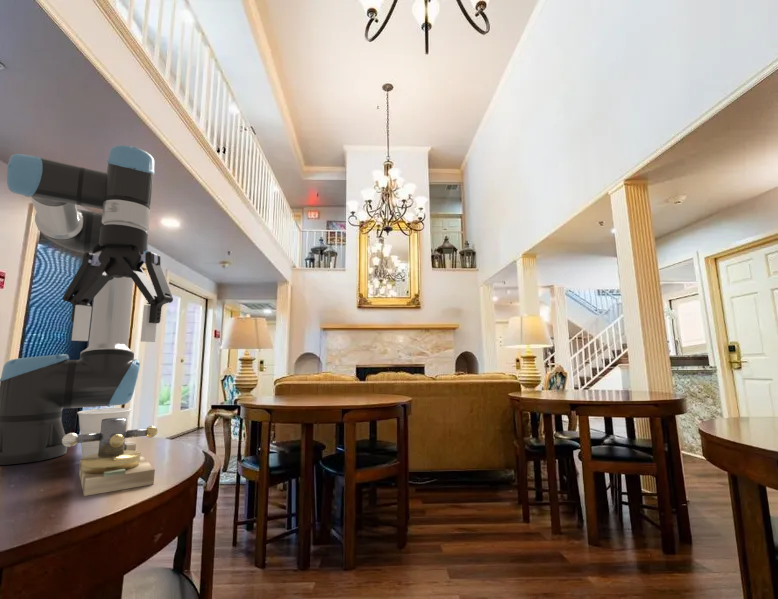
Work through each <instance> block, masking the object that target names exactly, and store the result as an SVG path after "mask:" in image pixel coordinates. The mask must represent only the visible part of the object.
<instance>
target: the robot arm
mask: <svg viewBox="0 0 778 599" xmlns="http://www.w3.org/2000/svg"><path fill="white" fill-rule="evenodd" d="M108 153H109V154H108V159H107V161H106V162H107V163H106V164H107V166H106V167H107V168H106V172H104V171H99V170H97V169H96V170H95V169H92V168H86V167H81V166H77V165H72V164H69V163H64V162H61V161H60V162H59V161H56V160H51V159H47V158H42V157H40V156H37V155H35V156H34V155H29V154H23V153H14V154H12V155H11V156H10V157H9V159H8V162H7V168H6V185H7V187H8V190H9V191H10V192H11V193H13V194H16V195H20V196H21V195H22V196H24V197H26V198H27V197H28V198H30V200H31V201H32V205H33V207H34V209H35V215H34V222H35V225H36V227H37V229H38V231H39V232H40V233H41V235H43V236H44V237H45V238H46V239H48V240H49V241H52V242H53V243H54V244H57V245H59V246H61V247H63V248H66V249H67V250H71V251H74V252H80V253H84V254H83V257H82V262H81V265H80V267H79V268H78V269H77V272H76V274H75V276H74V277H73V279H72V280H71V282H70V284H69V285H68V287H67V289H66V291H65V293H64V294H63V296H62V301H63V302H68V303H69V304H72V310H71V319H70V320H71V323H73V324H72V331H71V332H72V334H71V341H74V342H75V341H77V342H88V346H87V348H85V349H84V350H82V351H80V354H79V359H70V356H69V354H65V353H63V354H52V355H51V354H50V355H41V356H29V357H19V358H14V359H10V360H8V361H6V362H5V363H4V365H3V368H2V370H1V371H2V372H1V376H0V466H5V465H17V464H18V465H19V464H26V463H27V464H28V463H33V462H34V463H35V462H41V461H45V460H50V459H54V458H58V457H60V456H61V457H62V456H63V455H66V454H67V451H68V447H66V446H64V445H63V444H62V438H63V437H64V436H65V435H66V433H65V430H64V426H63V422H62V415H63V409H77V408H92V407H94V408H96V407H106V408H111V407H113V406H121V405H126V404H128V403H129V402H130V401H131V400H132V399H133V396H134V393H135V392H134V391H135V388H136V385H137V381H138V377H139V372H140V364H141V361H140V359H137V358H135V352H134V351H133V350H131V348H129V339H130V338H129V337H130V329H131V328H130V327H131V316H132V315H131V314H132V313H131V312H132V301H133V291H134V290H133V288H134V284H135V285H136V287H137V288H138V290H139V291H140V292H141V294H142V295H143V297H144V298H145V300H146V301H147V302H146V304H144V305H143V311H142V322H141V333H140V342H143V343H145V342H147V343H149V342H150V343H151V342H152V343H155V342H156V336H157V335H156V333H157V324H160V322H161V320H162V319H161V317H162V308H163V306H164V305H165V304H169V303H173V301H174V297H173V295H172V293H171V290H170V287H169V284H168V282H167V279H166V276H165V273H164V271H163V269H162V266H161V255H160V254H157V253H155V252H152V251H149V250H148V247H149V246H148V245H149V244H148V243H149V240H148V239H149V238H148V237H149V234H148V231H149V230H150V229H149V228H150V219H151V218H150V215H151V203H152V193H153V185H154V175H155V172H156V171H155V159H154V157H153V156H152V155H151V154H150V153H149V152H147V151H146V150H143V149H141V148H139V147H135V146H131V145H125V144H124V145H123V144H122V145H121V144H120V145H119V144H118V145H115V146H113V147H111V148H110V149H109V152H108ZM77 206H82V207H89V208H94V209H99V210H102V213H100V212H97V211H89V210H86V209H85V210H84V209H78V208H77ZM144 264H145V267H146V270H147V272H148V276H149V278H150V280H149V278H148V277H147V273H146V272H145V271H144V269H143V267H142V266H143V265H144ZM92 300H93V304H92V306H91V304H90V303H91V302H92Z"/></svg>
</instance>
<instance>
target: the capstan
mask: <svg viewBox="0 0 778 599" xmlns="http://www.w3.org/2000/svg"><path fill="white" fill-rule="evenodd" d="M127 423H128V420H127V418H108V419H103V420H102V422H101V431H100V433H94V434H83V435H80V434H77V433H75V432H69V433H67V434H66V433H65V436H64V437H63V438H62V444H63V445H64V446H66V447H67V448H71V447H74V446H75V445H76V446H77V444H81V443H83V442H93V441H99V451H98V454H93V455H89V456H86V457H84V458H82V457H81V458H80V460H81V468H80V471H81V472H85V473H102V472H105V471H112V470H119V469H128V468H131V467H134V466H137V465H138V464H140V454H141V451H138V450H135V451H130V450H126V451H124V446H125V442H126V439H130V438H138V437H147V438H154V437H156V436H157V434H158V428H157V427H156V426H154V425H149V426H147V427H146V428H140V429H138V428H137V429H127V426H128V425H127ZM141 455H142V454H141Z"/></svg>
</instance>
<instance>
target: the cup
mask: <svg viewBox="0 0 778 599" xmlns="http://www.w3.org/2000/svg"><path fill="white" fill-rule="evenodd" d="M131 411H132V408H128V407H127V408H126V407H105V408H95V409H85V410H81V411H76V412H77V415H78V421H79V422H78V423H79V433H80V434H79V435H83V434H94V433H100V431H101V422H102V420H103V419H108V418H127V421H129V417H130V413H131ZM80 446H81V459H82V458H84V457H86V456H89V455H93V454H98V451H99V441H93V442H83V443H80Z"/></svg>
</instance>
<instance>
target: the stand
mask: <svg viewBox="0 0 778 599" xmlns="http://www.w3.org/2000/svg"><path fill="white" fill-rule="evenodd" d="M136 448H137V444H136V442H135V441H127V442H126V441H125V446H124V451H126V450H130V451H137V450H136ZM80 468H81V459H79V468H78V475H79V480H80V485H81V488H82V494H83V496H84V497H87V496H93V495H97V494H103V493H104V494H105V493H108V492H109V493H110V492H115V491H121V490H127V489H133V488H139V487H143V486H150V485H154V484H155V471H156V470H155V469H156V468H154V467H153V466H152V464H151V463H149V462H148V460H147V459H146V458H145V457H144V456H143V455H142V454H140V464H138V465H137V466H134V467H131V468H128V469H119V470H112V471H105V472H102V473H85V472H81V471H80Z"/></svg>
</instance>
